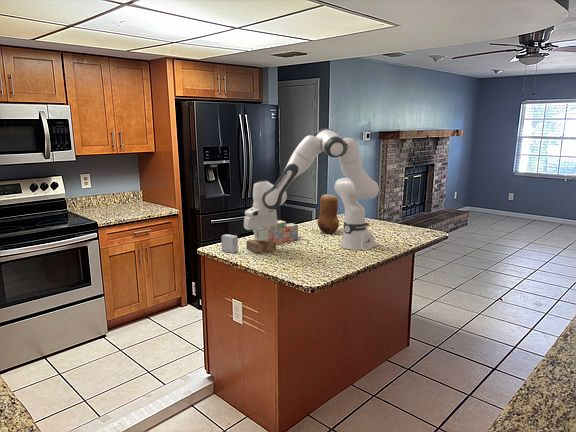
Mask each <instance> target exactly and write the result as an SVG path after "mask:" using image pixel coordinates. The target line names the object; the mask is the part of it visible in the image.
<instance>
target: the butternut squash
mask: <svg viewBox="0 0 576 432" xmlns="http://www.w3.org/2000/svg"><path fill="white" fill-rule="evenodd" d="M319 200H320V201H319V202H320V203H319V205H320V207H319V216H318V218H317V226H318V228H319V230H320V232H323V233H325V234H328V235H329V234H333V233H335V232H337V230H338V228H339V226H340V221H339V217H338V209H339V200H338V197H337V196H336V195H333V194H330V193H329V194H326V193H325V194H323V195H321V197H320V199H319Z"/></svg>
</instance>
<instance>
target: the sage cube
mask: <svg viewBox="0 0 576 432" xmlns="http://www.w3.org/2000/svg"><path fill="white" fill-rule="evenodd" d="M256 232H257V233H258V237H255V236H254V239H258V240H263V239H268V230H267V229H264V228H258V229H257V231H256Z"/></svg>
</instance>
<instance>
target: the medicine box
mask: <svg viewBox="0 0 576 432" xmlns="http://www.w3.org/2000/svg"><path fill="white" fill-rule="evenodd" d="M238 238H239V237H238V235H233V234H223V235H221V239H220V240H221V251H222V252H226V253H232V254H234V253H237V252H238V251H239V242H238V240H239V239H238Z"/></svg>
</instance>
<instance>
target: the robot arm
mask: <svg viewBox="0 0 576 432" xmlns="http://www.w3.org/2000/svg"><path fill="white" fill-rule="evenodd" d="M357 145H358V144H357V143H356V140H355V139H354V138H351V137H344V138H342V137H341V136H340V135H339V134H338V133H336V132H335V131H334V130H332V129H330V128H327V127H325V128H321V129H319V130H318V131H317V132H316V133H314V134H313V135H306V136H305V137H304V138H303V139H302V140H301V141H300V142H299V144H298V145H297V146H296V148H295V149H294V150H293V152H292V154H291V156H290V157H289V159H288V161H287V164H286V166H285V168H284V169H283V171H282V172H281V175H280V176H279V177H278V178H277V180H276V182H275V183H274V184H273V183H272V182H269V181H268V180H260V181H256V182H255V183H254V184H253V188H252V199H253V203H252V206H251V207H250V208H248V209H246V210H245V211H244V215H245V216H244V217H243V228H244V229H245V230H247V231H251V230H252V231H253V235H254V238H255V237H258V233H257V232H256V231H257V229H260V228H264V227H265V228H266V229H267V230H268V231H269V229H270V226H276V225H277V221H278V215H277V209H278V208H279V207H280V206H281V205H283V204H284V203H285V202H286V200H287V199H288V194H287V189H288V188H289V186H290V185H291V183H292V182H293V181H294V180H295V179H296V178H298V176H301V174H303V173H305V172H306V171H307V170H308V169H309V168H310V166H312V164H313V162H314V161H315V159H316V157H317V156H318V155H319V154H321V153H323V152H324V153H325V154H326V155H327V156H328V157H331V158H338V161H339V166H340V169H341V173H342V174H343V176H345V177H340V178H337V180H336V181H335V182H334V187H333V188H334V192H335V193H336V195H337V196H338V197H339V198H340V200H341V201H342V204H343V206H344V207H343V208H344V221H343V232H342V238H341V241H340V244H341V245H340V247H341V248H343V249H345V250H354V251H368V250H370V249H373V248H375V247H377V245H378V246H379V243H378V242H376V241H375V236H374V234H373V233H372V232H371V231H369V229H368V228H367V227H370V223H369V222H365V220H366V219H365V217H366V210H365V207H364V206H363V205H361V204H360V203H359V202H358V199H359V200H372V199H375V198H376V197H377V196H378V194H379V192H380V188H379V184H378V182H376V181H375V180H374V179H372V178H371V177H370V176H369V175H368V174H367V172H366V170H365V169H364V168H363V164H362V161H361V155H360V151H359V148H358V146H357Z"/></svg>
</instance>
